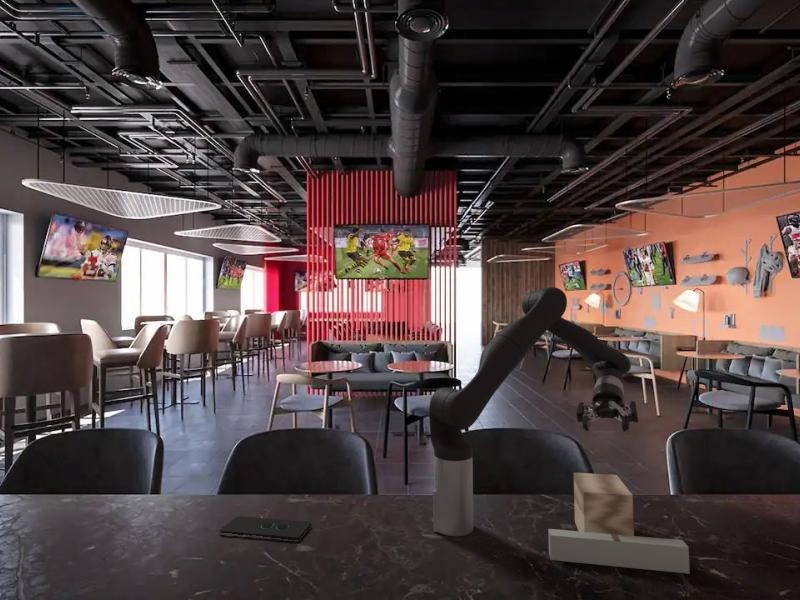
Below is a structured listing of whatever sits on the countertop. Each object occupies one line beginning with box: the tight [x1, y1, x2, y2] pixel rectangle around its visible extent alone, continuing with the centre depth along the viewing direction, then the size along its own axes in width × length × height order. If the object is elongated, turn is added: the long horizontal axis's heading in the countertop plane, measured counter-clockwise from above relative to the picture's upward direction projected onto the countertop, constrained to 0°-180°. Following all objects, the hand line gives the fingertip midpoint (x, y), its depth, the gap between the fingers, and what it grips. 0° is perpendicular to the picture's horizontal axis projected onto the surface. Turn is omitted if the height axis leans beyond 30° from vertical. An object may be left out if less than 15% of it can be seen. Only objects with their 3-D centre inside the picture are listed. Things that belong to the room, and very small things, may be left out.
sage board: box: [547, 528, 691, 574], centre depth 92 cm, size 26×3×5 cm, turn 78°
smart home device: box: [219, 516, 312, 541], centre depth 107 cm, size 8×2×20 cm
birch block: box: [573, 472, 635, 536], centre depth 104 cm, size 10×13×12 cm
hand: (605, 428), depth 109 cm, fingers open, 8 cm apart
